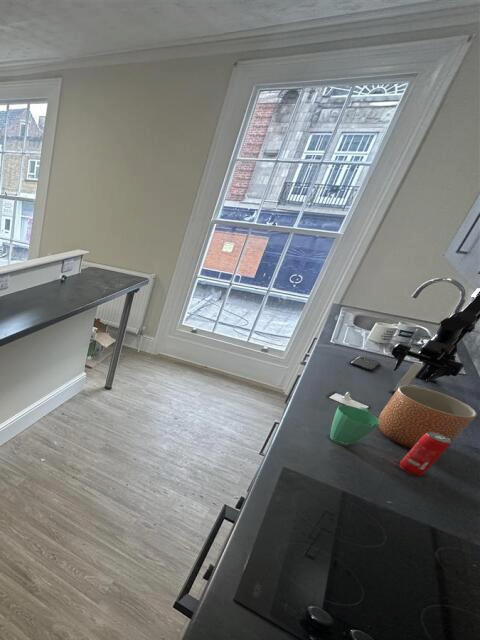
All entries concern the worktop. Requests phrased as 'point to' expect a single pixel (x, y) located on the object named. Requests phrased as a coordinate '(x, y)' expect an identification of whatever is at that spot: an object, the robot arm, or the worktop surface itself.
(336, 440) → the mug
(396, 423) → the planter
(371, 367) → the smartphone
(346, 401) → the adhesive hook
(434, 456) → the beverage can
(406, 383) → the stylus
